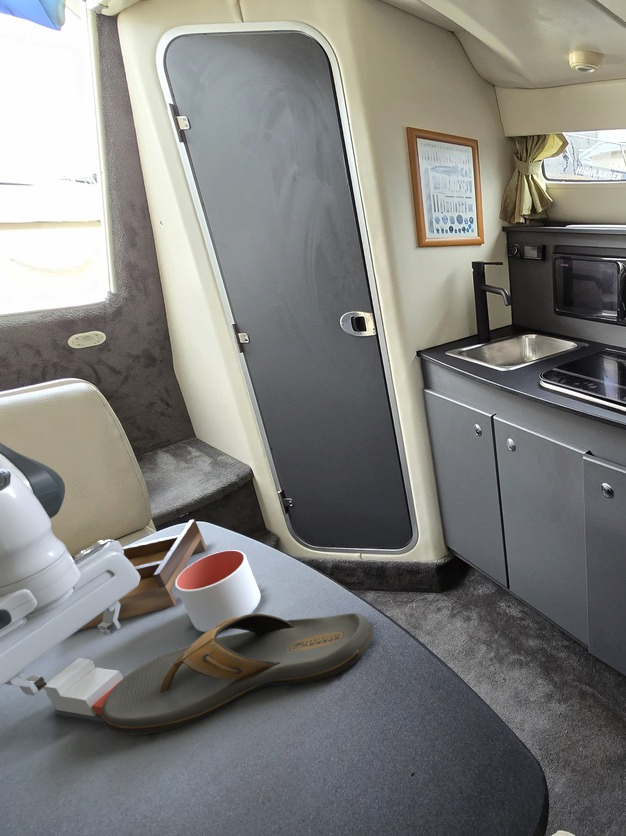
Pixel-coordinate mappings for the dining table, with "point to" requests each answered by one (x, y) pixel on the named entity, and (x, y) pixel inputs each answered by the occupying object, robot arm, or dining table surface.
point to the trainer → (82, 690)
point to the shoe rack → (156, 571)
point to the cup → (218, 589)
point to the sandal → (233, 669)
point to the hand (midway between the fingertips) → (76, 658)
